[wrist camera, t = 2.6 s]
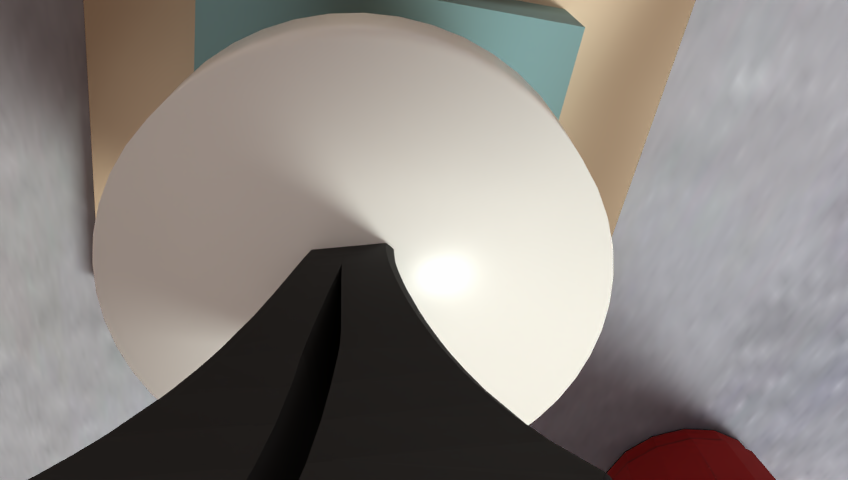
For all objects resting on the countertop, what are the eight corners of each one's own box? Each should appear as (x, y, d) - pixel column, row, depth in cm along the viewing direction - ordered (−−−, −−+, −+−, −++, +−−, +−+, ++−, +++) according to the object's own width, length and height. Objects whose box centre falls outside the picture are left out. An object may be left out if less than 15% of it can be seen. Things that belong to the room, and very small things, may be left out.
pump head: (609, 28, 14) (690, 93, 10) (508, 360, 17) (538, 498, 14) (172, -52, 13) (75, -14, 9) (170, 319, 17) (103, 455, 13)
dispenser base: (702, -61, 16) (756, -47, 14) (563, 340, 22) (584, 401, 19) (88, -186, 15) (26, -195, 12) (110, 282, 20) (70, 340, 18)
